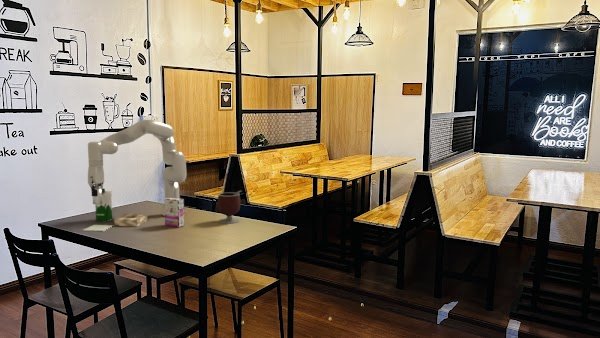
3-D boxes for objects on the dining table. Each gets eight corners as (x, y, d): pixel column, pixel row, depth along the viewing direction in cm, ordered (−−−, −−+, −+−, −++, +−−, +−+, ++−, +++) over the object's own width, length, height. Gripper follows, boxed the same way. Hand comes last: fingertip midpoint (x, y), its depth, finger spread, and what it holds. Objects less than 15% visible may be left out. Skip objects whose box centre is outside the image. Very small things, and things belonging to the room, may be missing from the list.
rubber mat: (113, 226, 265) (113, 225, 265) (103, 231, 253) (103, 230, 253) (94, 225, 266) (94, 224, 266) (82, 230, 254) (82, 229, 254)
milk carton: (93, 221, 276) (92, 189, 273) (101, 218, 285) (100, 187, 282) (107, 222, 275) (106, 189, 273) (114, 218, 284) (113, 187, 282)
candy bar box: (184, 226, 267) (184, 198, 265) (178, 227, 262) (178, 200, 261) (170, 223, 272) (170, 197, 270) (164, 225, 268) (163, 198, 266)
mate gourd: (213, 222, 275) (213, 190, 273) (224, 218, 288) (224, 187, 286) (236, 225, 270) (236, 192, 268) (246, 220, 283) (246, 188, 281)
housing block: (147, 220, 279) (147, 214, 278) (137, 226, 265) (137, 219, 264) (125, 220, 280) (125, 214, 279) (114, 225, 266) (114, 219, 265)
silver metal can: (104, 202, 260) (103, 185, 259) (99, 204, 255) (98, 186, 254) (95, 202, 260) (95, 185, 259) (91, 204, 256) (90, 186, 254)
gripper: (97, 162, 264) (98, 192, 266) (81, 165, 247) (82, 197, 249) (109, 162, 263) (111, 193, 265) (94, 165, 246) (95, 198, 249)
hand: (97, 195), depth 257 cm, fingers closed on silver metal can, 5 cm apart
